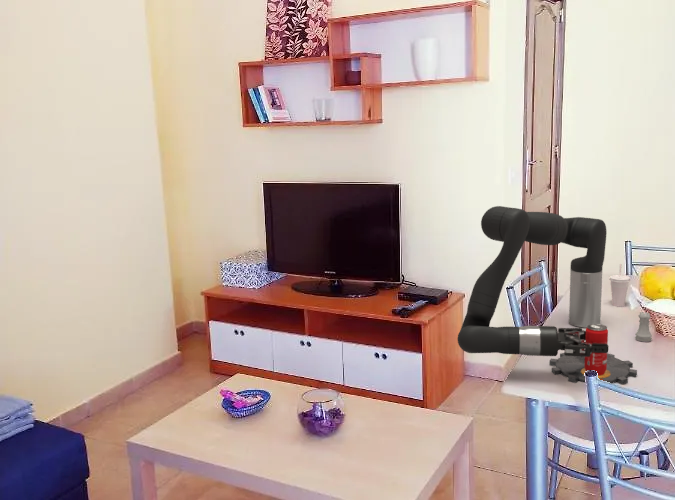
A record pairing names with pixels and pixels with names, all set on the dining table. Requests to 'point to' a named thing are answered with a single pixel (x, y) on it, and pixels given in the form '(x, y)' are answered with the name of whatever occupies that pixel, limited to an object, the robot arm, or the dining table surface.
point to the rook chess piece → (644, 328)
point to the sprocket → (575, 370)
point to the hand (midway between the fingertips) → (604, 342)
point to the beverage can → (596, 360)
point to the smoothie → (619, 288)
